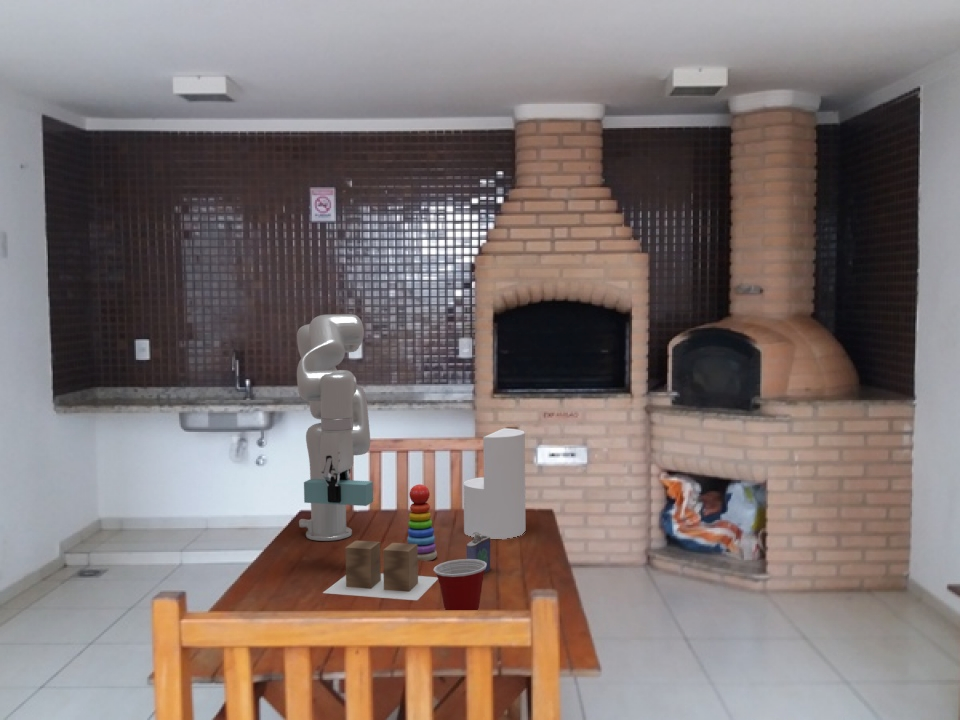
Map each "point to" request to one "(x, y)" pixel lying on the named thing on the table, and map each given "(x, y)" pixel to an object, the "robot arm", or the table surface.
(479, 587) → the plastic cup
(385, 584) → the pillar right
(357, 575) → the pillar left
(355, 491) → the beam
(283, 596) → the table surface
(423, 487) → the stacking toy
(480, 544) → the flask
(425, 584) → the board
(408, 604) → the table surface
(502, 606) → the table surface
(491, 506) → the cylinder
